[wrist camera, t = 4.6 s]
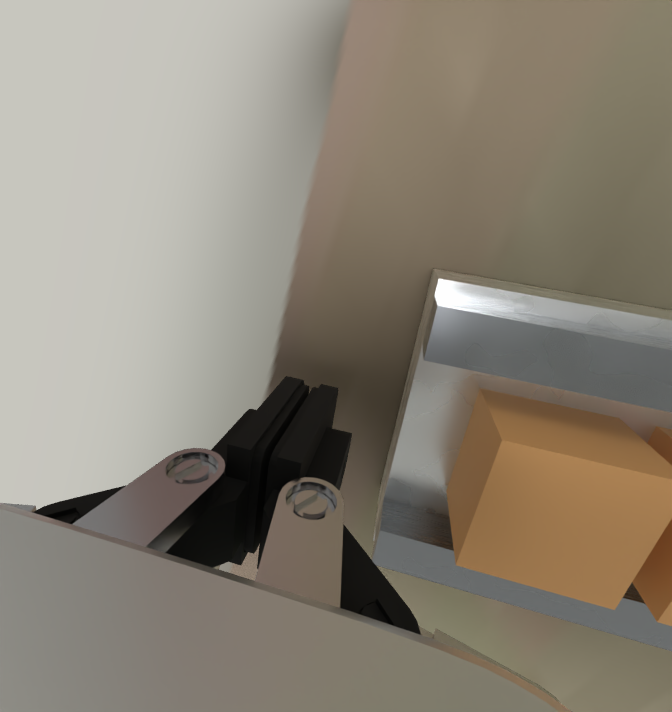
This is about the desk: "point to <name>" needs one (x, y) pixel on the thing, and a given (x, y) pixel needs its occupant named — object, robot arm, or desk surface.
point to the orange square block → (659, 551)
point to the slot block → (525, 379)
